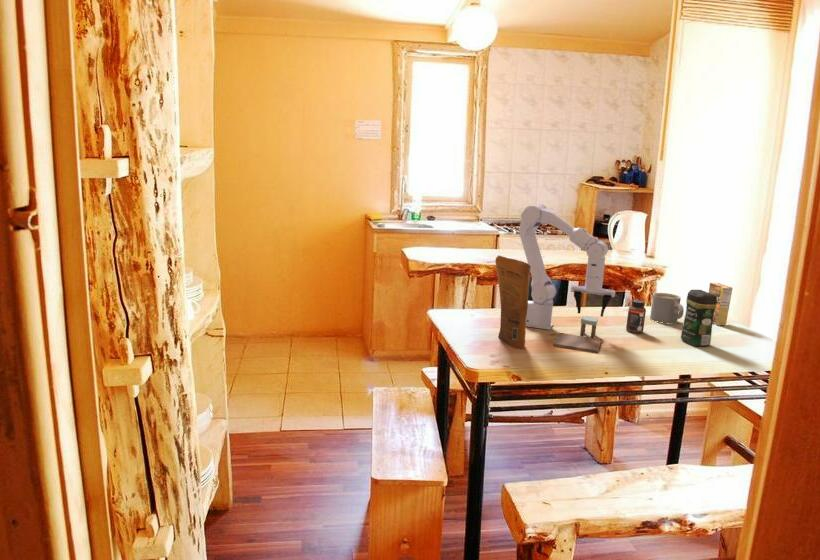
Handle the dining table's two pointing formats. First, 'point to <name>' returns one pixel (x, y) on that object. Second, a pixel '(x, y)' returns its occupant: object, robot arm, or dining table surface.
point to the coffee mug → (666, 308)
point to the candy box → (721, 302)
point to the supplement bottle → (636, 317)
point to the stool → (588, 321)
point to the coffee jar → (699, 318)
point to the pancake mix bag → (513, 299)
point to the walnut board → (577, 342)
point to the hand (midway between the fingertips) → (590, 314)
